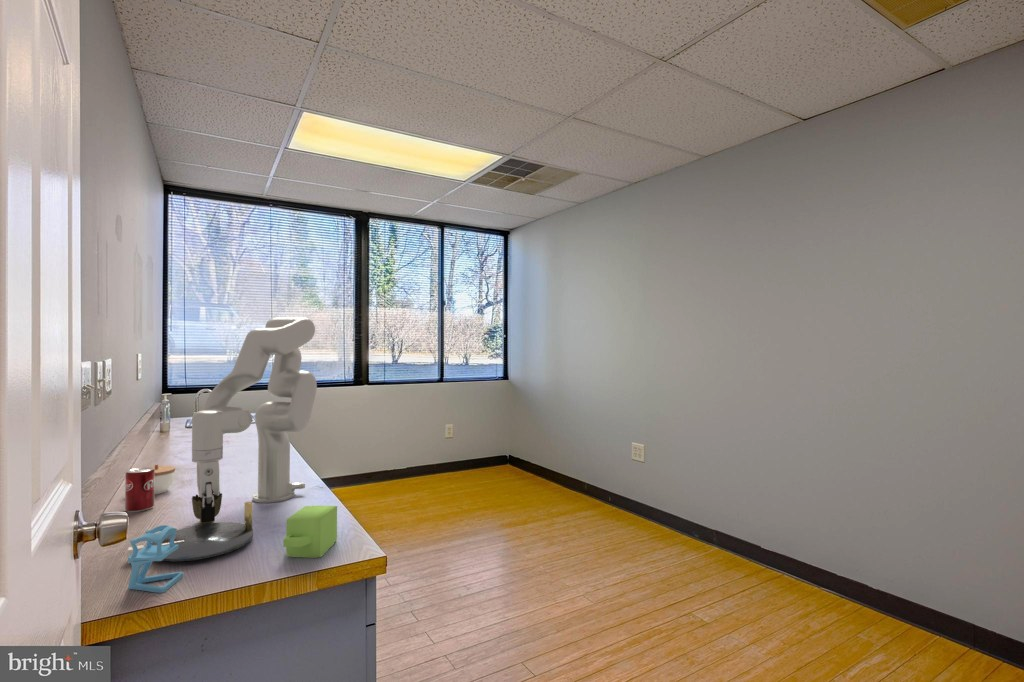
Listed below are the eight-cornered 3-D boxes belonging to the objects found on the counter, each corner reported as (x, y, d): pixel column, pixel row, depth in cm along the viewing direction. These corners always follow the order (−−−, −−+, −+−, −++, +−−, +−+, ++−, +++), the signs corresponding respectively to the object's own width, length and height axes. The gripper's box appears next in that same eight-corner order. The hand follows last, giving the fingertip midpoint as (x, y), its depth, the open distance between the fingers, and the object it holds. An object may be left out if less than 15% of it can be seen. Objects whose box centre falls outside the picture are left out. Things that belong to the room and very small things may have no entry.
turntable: (246, 521, 142) (246, 491, 142) (259, 547, 124) (259, 513, 124) (150, 538, 129) (150, 505, 129) (148, 569, 111) (148, 532, 111)
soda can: (122, 514, 151) (123, 473, 151) (127, 507, 157) (128, 468, 157) (152, 510, 154) (152, 471, 154) (156, 504, 160) (156, 466, 160)
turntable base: (232, 533, 136) (232, 521, 136) (238, 550, 125) (238, 538, 125) (129, 551, 124) (129, 539, 124) (126, 573, 112) (126, 559, 112)
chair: (143, 577, 110) (144, 521, 110) (184, 575, 111) (184, 520, 111) (119, 594, 103) (120, 535, 103) (163, 593, 103) (164, 533, 103)
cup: (199, 530, 138) (200, 500, 138) (186, 525, 142) (186, 496, 142) (227, 522, 144) (227, 494, 144) (213, 517, 148) (213, 490, 148)
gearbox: (306, 534, 136) (307, 498, 136) (343, 535, 135) (343, 499, 136) (272, 563, 118) (273, 522, 118) (314, 564, 117) (315, 523, 118)
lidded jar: (137, 498, 166) (137, 470, 166) (135, 491, 174) (136, 463, 174) (176, 492, 173) (176, 465, 173) (173, 485, 181) (173, 459, 181)
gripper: (225, 458, 138) (225, 524, 138) (219, 447, 153) (219, 507, 152) (193, 462, 134) (192, 529, 134) (190, 450, 148) (189, 511, 148)
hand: (206, 517), depth 143 cm, fingers closed on cup, 7 cm apart
